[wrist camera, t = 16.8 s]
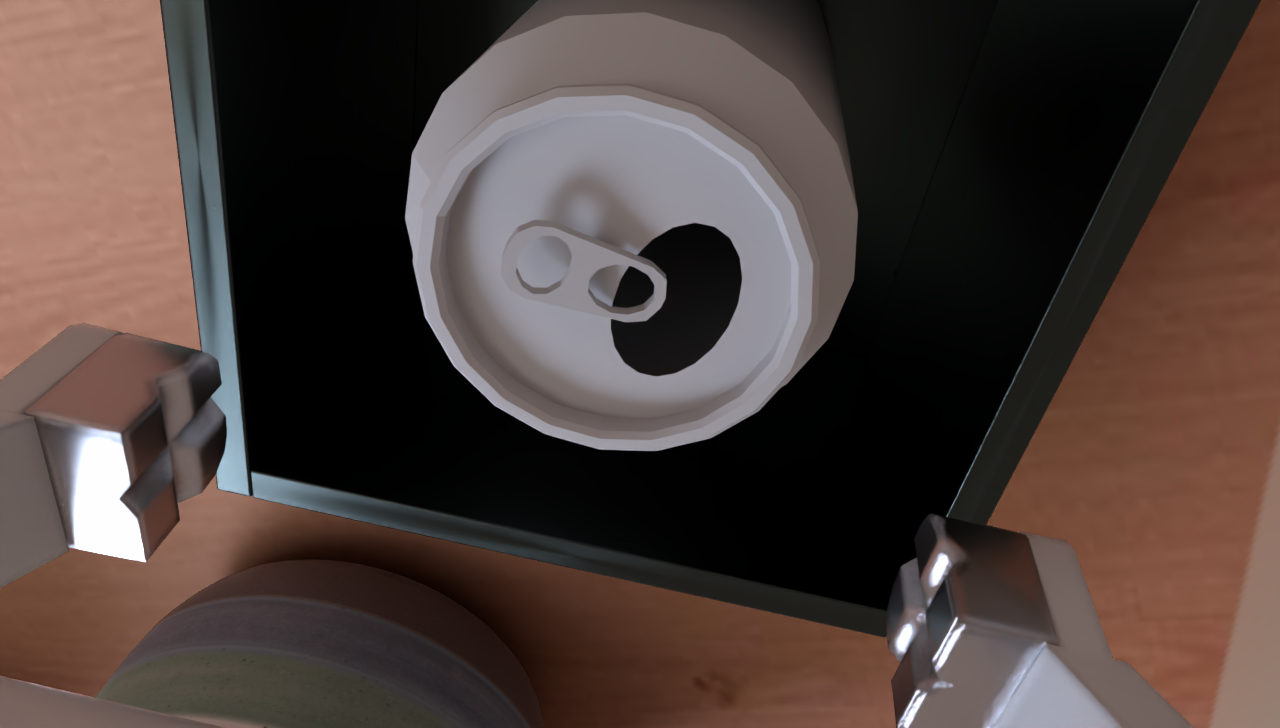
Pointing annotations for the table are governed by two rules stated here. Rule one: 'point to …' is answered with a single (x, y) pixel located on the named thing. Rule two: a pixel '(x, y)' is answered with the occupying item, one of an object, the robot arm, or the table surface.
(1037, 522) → the table surface
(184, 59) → the bin
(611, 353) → the can
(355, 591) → the vase
